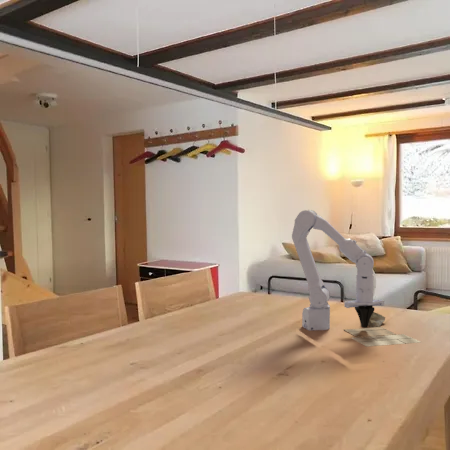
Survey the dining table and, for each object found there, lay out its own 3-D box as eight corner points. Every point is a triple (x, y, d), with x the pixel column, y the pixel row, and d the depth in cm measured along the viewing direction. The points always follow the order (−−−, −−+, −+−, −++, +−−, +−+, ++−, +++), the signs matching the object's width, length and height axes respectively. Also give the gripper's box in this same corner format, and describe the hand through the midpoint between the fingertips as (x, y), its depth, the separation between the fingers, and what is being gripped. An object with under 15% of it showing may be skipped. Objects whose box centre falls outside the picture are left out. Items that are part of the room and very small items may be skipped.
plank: (356, 341, 165) (356, 337, 165) (343, 333, 174) (343, 329, 174) (396, 338, 169) (396, 334, 169) (381, 330, 178) (381, 326, 178)
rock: (378, 329, 176) (361, 306, 181) (367, 338, 179) (350, 316, 184) (393, 323, 184) (376, 302, 189) (381, 332, 187) (365, 311, 192)
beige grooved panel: (366, 350, 155) (366, 346, 154) (350, 342, 164) (350, 337, 164) (421, 346, 159) (421, 341, 159) (403, 338, 169) (403, 333, 169)
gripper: (351, 291, 167) (351, 331, 167) (389, 289, 170) (389, 328, 171) (341, 288, 174) (341, 326, 174) (378, 286, 177) (377, 323, 178)
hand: (364, 327), depth 173 cm, fingers closed
